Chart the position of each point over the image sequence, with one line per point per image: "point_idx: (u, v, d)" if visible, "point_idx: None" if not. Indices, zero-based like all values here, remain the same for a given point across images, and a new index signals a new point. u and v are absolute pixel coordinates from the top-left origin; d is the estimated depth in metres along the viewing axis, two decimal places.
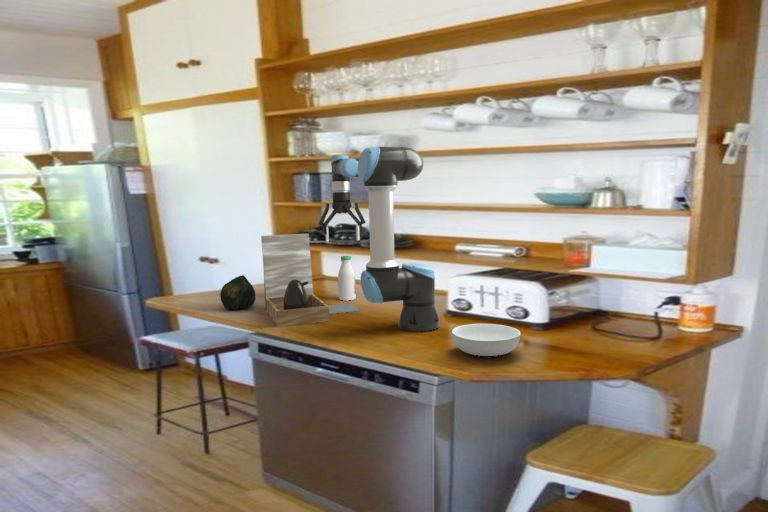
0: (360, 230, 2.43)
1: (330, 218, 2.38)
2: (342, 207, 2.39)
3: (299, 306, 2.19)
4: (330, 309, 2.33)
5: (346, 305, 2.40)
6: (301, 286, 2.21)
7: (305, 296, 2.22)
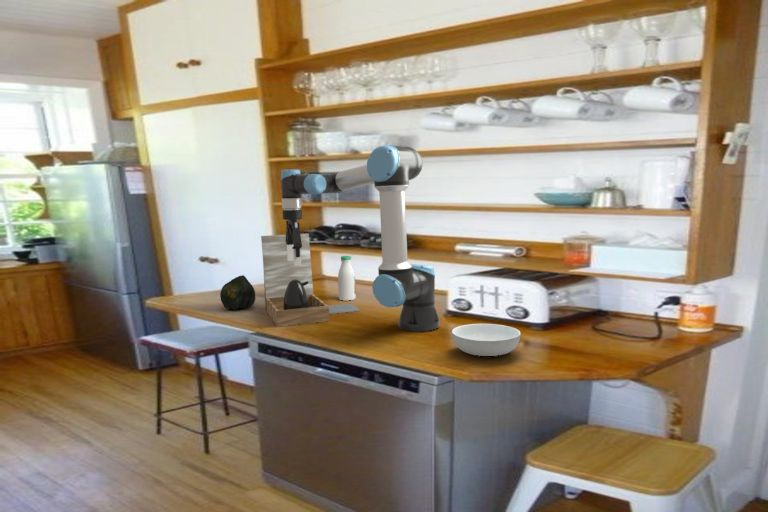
0: (296, 254, 2.14)
1: (287, 236, 2.25)
2: None
3: (299, 306, 2.19)
4: (330, 309, 2.33)
5: (346, 305, 2.40)
6: (301, 286, 2.21)
7: (305, 296, 2.22)
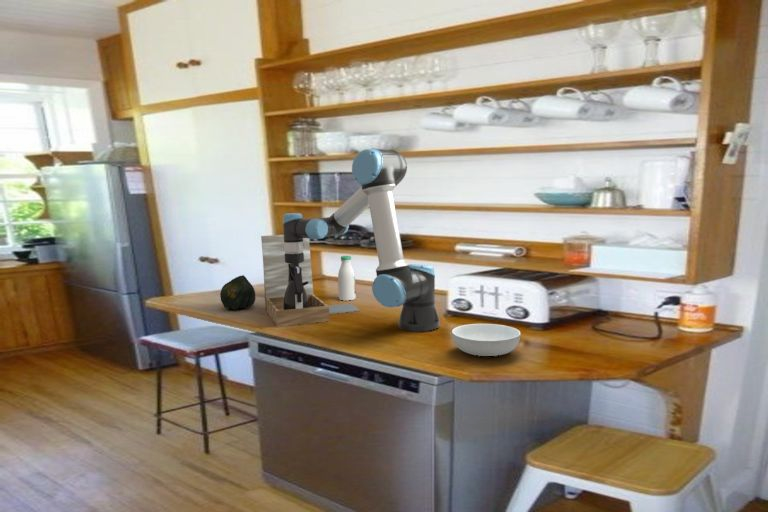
0: (297, 300, 2.17)
1: (290, 280, 2.26)
2: None
3: None
4: (330, 309, 2.33)
5: (346, 305, 2.40)
6: None
7: (305, 296, 2.22)
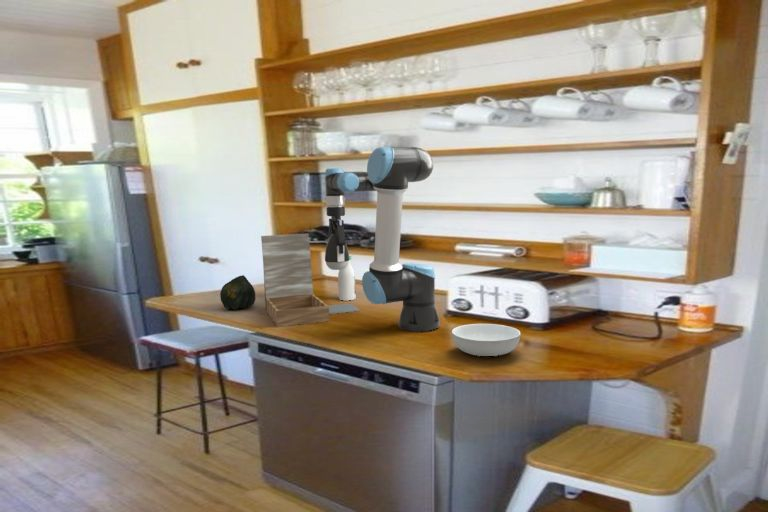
0: (339, 251, 2.26)
1: (330, 234, 2.35)
2: None
3: None
4: (330, 309, 2.33)
5: (346, 305, 2.40)
6: None
7: (346, 248, 2.31)
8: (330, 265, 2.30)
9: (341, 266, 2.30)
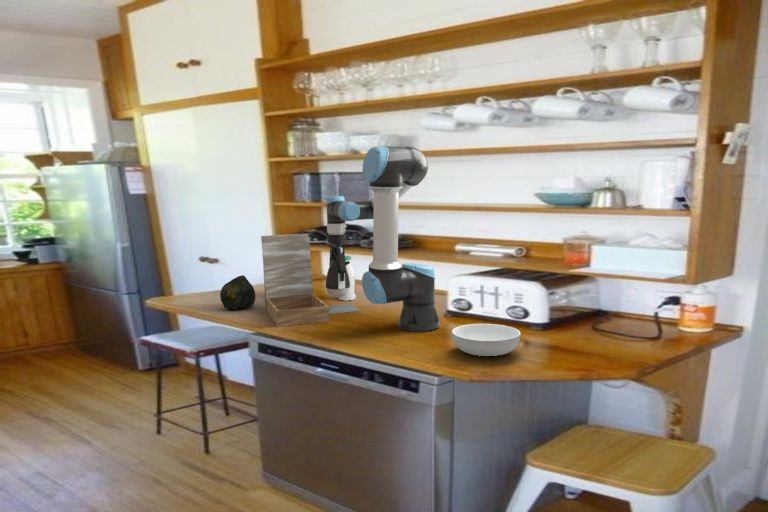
0: (340, 278, 2.28)
1: (331, 260, 2.37)
2: None
3: None
4: (330, 309, 2.33)
5: (346, 305, 2.40)
6: None
7: (347, 275, 2.32)
8: (331, 292, 2.31)
9: (342, 293, 2.31)
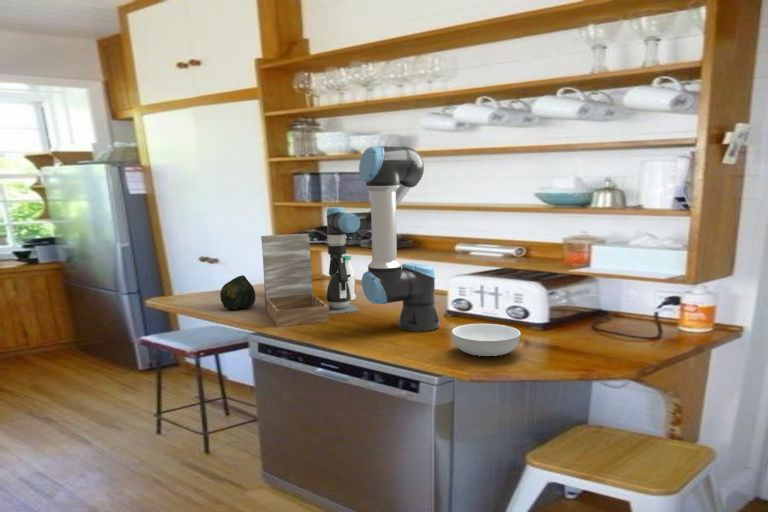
0: (342, 288, 2.27)
1: (331, 269, 2.38)
2: None
3: (342, 298, 2.30)
4: (330, 309, 2.33)
5: None
6: None
7: (348, 288, 2.33)
8: (332, 305, 2.32)
9: (343, 306, 2.32)
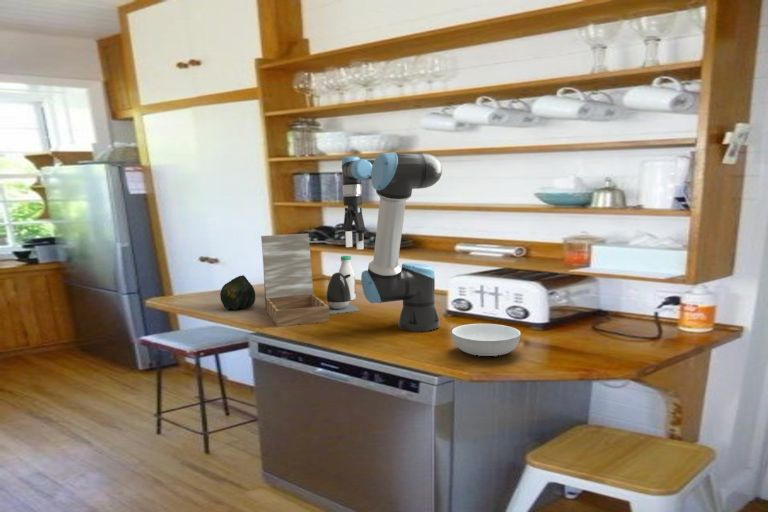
0: (359, 238, 2.20)
1: (346, 223, 2.31)
2: None
3: (342, 298, 2.30)
4: (330, 309, 2.33)
5: None
6: (344, 279, 2.32)
7: (347, 288, 2.33)
8: (332, 305, 2.32)
9: (342, 306, 2.32)
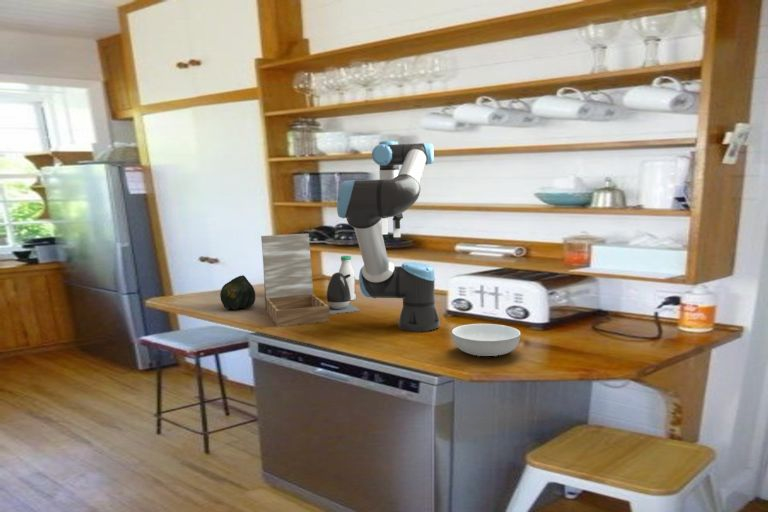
0: (396, 226, 2.13)
1: None
2: None
3: (342, 298, 2.30)
4: (330, 309, 2.33)
5: None
6: (344, 279, 2.32)
7: (347, 288, 2.33)
8: (332, 305, 2.32)
9: (342, 306, 2.32)
